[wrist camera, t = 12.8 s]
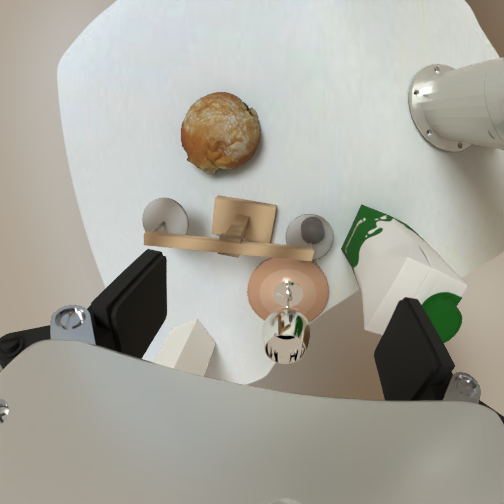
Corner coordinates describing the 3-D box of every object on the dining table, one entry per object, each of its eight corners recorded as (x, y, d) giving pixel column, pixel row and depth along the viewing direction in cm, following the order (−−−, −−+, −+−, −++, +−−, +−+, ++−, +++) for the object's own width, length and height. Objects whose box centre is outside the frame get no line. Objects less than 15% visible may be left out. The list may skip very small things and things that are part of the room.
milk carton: (384, 272, 40) (432, 368, 21) (331, 251, 39) (357, 349, 21) (410, 220, 36) (486, 293, 18) (357, 194, 36) (414, 258, 18)
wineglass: (315, 289, 41) (321, 344, 30) (293, 316, 43) (292, 373, 32) (281, 270, 40) (277, 321, 29) (261, 299, 43) (250, 354, 32)
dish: (337, 262, 40) (338, 266, 39) (316, 327, 45) (316, 332, 44) (254, 247, 41) (253, 250, 40) (243, 314, 46) (242, 319, 45)
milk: (197, 317, 47) (148, 422, 27) (216, 343, 49) (180, 448, 29) (171, 327, 49) (118, 423, 29) (190, 351, 51) (149, 448, 31)
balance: (334, 213, 37) (352, 249, 26) (324, 253, 40) (335, 302, 28) (165, 184, 39) (118, 208, 27) (164, 224, 41) (120, 259, 30)
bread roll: (269, 139, 38) (285, 120, 30) (219, 192, 37) (223, 183, 30) (218, 95, 36) (222, 68, 28) (166, 145, 36) (158, 125, 28)
